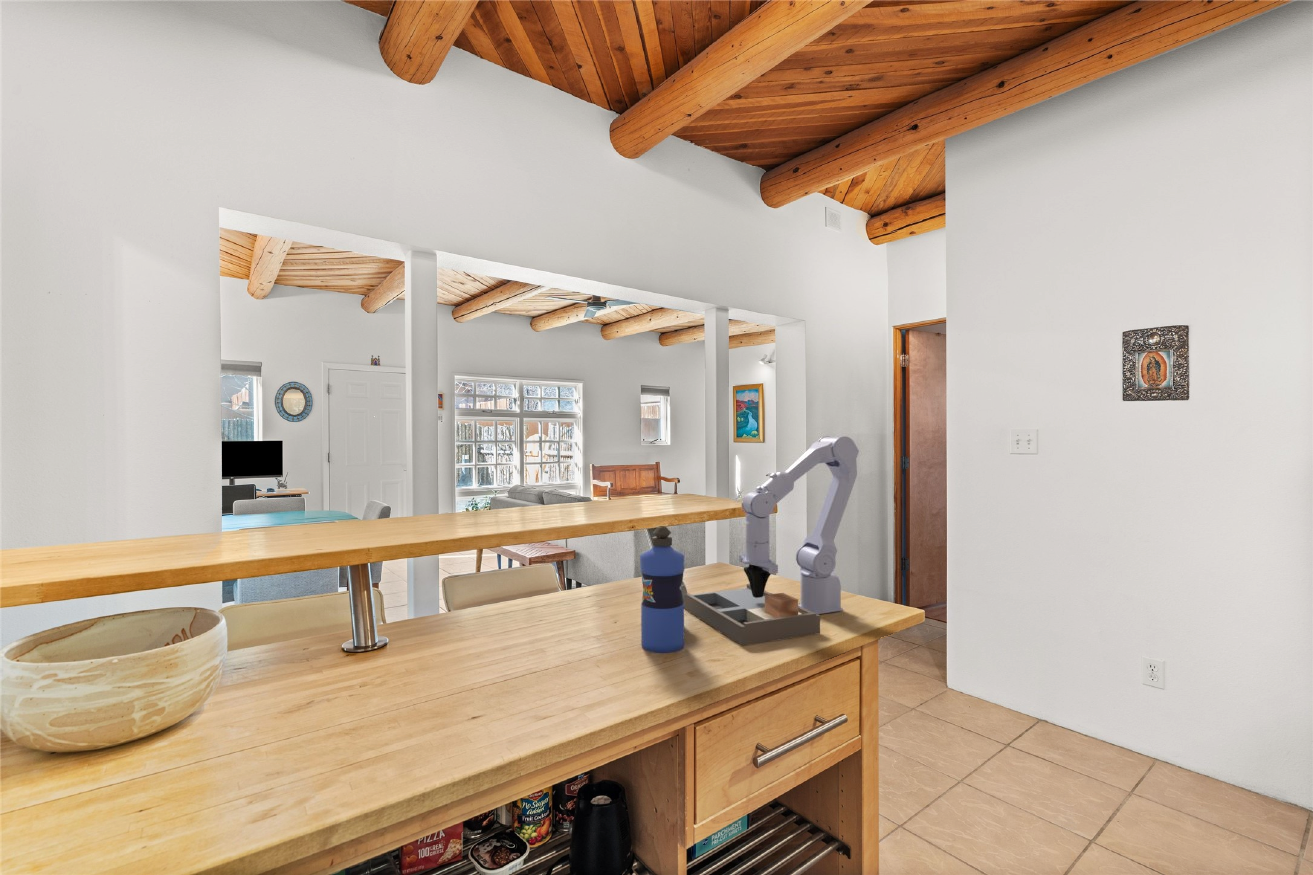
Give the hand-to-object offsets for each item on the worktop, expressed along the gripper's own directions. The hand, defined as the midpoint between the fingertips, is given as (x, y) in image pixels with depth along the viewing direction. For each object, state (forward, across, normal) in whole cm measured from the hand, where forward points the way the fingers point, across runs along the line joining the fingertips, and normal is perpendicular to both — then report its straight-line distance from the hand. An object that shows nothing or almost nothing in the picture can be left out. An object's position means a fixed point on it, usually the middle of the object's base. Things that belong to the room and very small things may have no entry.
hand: (757, 596), depth 148 cm
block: (+1, +10, 0) cm, 10 cm away
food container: (+5, 0, -22) cm, 23 cm away
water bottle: (+5, +10, -30) cm, 32 cm away
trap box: (+4, +2, -4) cm, 7 cm away
